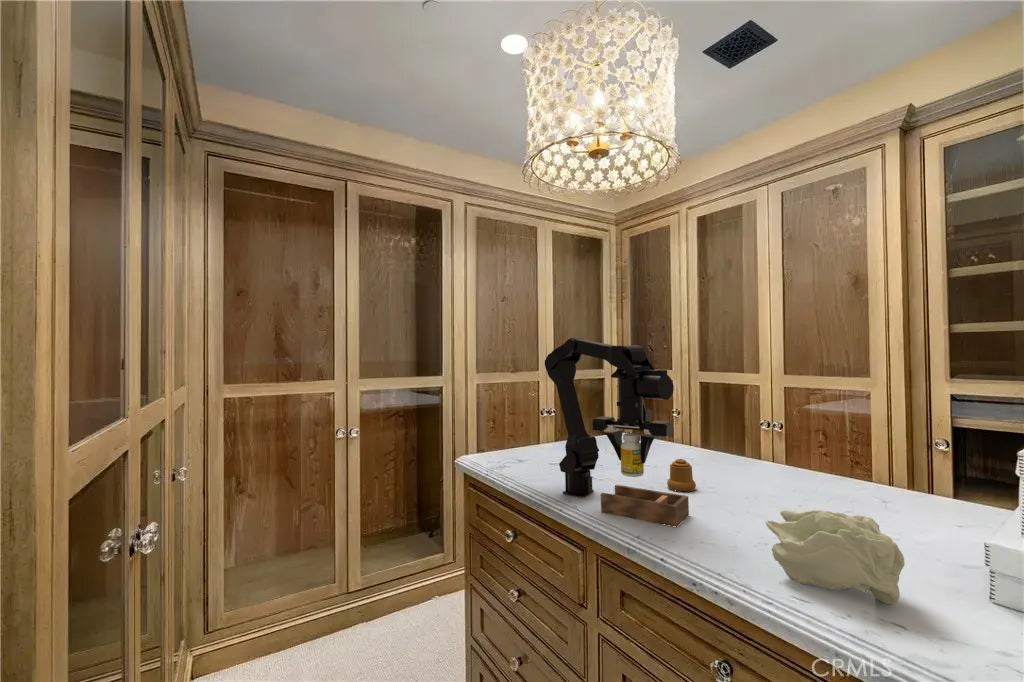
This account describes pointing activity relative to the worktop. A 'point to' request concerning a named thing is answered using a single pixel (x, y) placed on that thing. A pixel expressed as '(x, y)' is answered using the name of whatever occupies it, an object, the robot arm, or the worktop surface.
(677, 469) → the ornamental finial
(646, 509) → the pusher lane
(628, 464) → the supplement bottle
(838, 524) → the wavy plaster lump
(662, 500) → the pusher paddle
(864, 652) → the worktop surface
